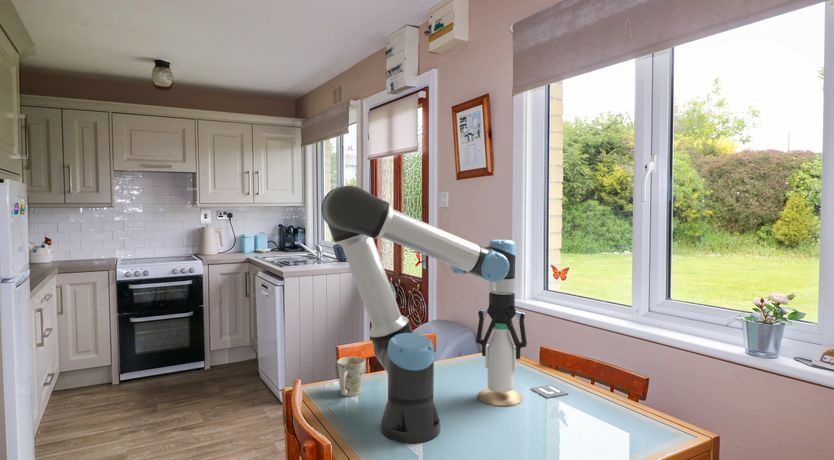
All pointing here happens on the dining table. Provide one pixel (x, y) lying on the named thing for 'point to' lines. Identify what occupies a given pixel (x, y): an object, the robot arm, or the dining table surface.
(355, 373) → the mug
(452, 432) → the dining table surface
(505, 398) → the round flatbread
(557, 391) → the tile
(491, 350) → the milk bottle
